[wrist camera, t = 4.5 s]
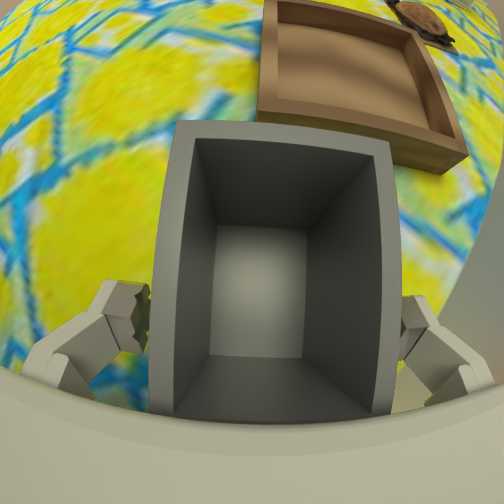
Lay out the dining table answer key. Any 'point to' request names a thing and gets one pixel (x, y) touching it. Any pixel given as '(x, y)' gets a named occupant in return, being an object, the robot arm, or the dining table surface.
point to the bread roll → (423, 24)
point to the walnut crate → (356, 81)
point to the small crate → (275, 276)
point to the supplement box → (462, 3)
